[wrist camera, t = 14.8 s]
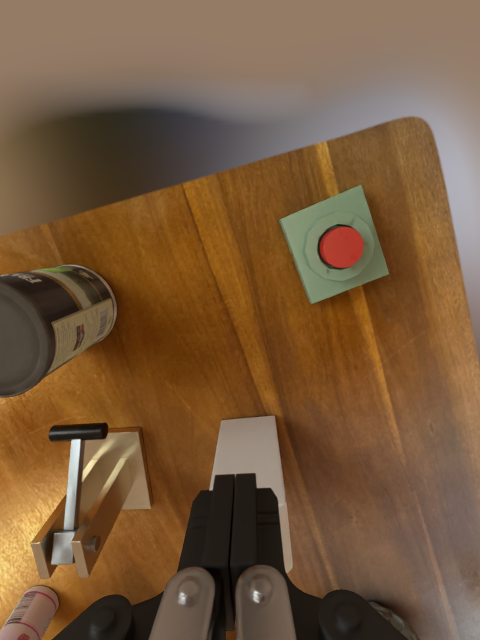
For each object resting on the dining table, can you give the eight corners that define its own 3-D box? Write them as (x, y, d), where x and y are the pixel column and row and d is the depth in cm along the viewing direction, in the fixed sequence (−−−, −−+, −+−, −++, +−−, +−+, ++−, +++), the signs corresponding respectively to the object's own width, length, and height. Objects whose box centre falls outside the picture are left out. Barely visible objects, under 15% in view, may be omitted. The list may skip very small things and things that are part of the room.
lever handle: (60, 425, 39) (47, 425, 37) (110, 422, 39) (100, 422, 37) (47, 556, 35) (32, 565, 33) (102, 554, 35) (90, 563, 33)
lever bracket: (75, 430, 45) (0, 511, 32) (141, 426, 44) (93, 507, 31) (91, 504, 48) (29, 608, 34) (153, 502, 47) (114, 606, 34)
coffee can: (22, 273, 40) (-96, 290, 26) (104, 257, 39) (25, 266, 26) (49, 353, 42) (-47, 407, 29) (127, 339, 42) (66, 388, 28)
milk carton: (274, 414, 43) (292, 543, 25) (279, 461, 45) (299, 616, 27) (220, 419, 44) (198, 549, 25) (227, 465, 45) (211, 620, 27)
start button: (314, 236, 34) (317, 236, 33) (351, 221, 34) (356, 220, 32) (326, 272, 35) (330, 274, 34) (363, 257, 35) (369, 258, 33)
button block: (278, 220, 38) (281, 218, 34) (355, 187, 37) (367, 181, 33) (308, 300, 40) (314, 307, 36) (382, 272, 39) (396, 275, 35)
